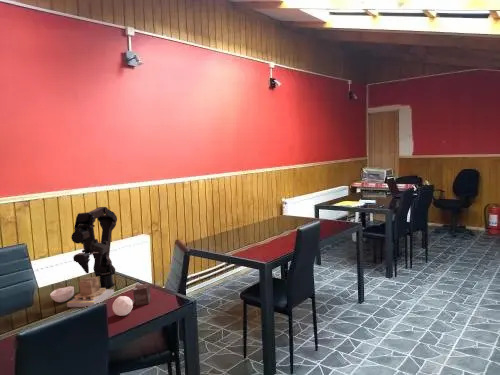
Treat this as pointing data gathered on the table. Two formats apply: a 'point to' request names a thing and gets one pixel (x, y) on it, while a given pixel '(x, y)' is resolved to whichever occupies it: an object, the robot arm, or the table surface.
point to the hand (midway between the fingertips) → (93, 270)
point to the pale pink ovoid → (122, 305)
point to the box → (142, 294)
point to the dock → (90, 302)
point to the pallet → (93, 296)
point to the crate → (89, 285)
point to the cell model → (62, 294)
